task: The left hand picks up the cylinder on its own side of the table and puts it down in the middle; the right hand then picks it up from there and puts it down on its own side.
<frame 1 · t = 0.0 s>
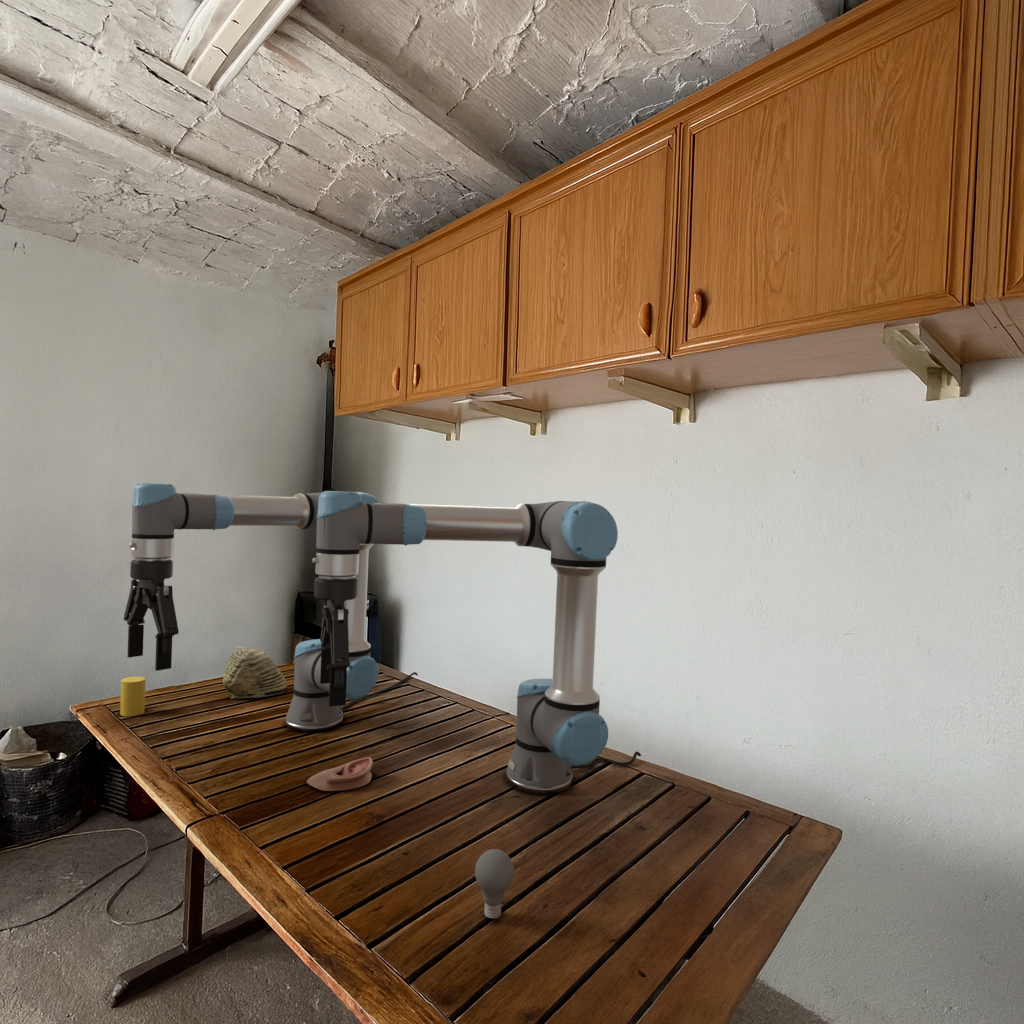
left hand: (148, 662, 129), 28 cm above the table, tool pointing down, fingers open, 13 cm apart
right hand: (332, 693, 115), 28 cm above the table, tool pointing down, fingers open, 13 cm apart
anatomical model: (340, 781, 141), on the table
light bulb: (492, 917, 98), on the table
cylinder: (132, 712, 178), on the table
fossil: (254, 694, 198), on the table
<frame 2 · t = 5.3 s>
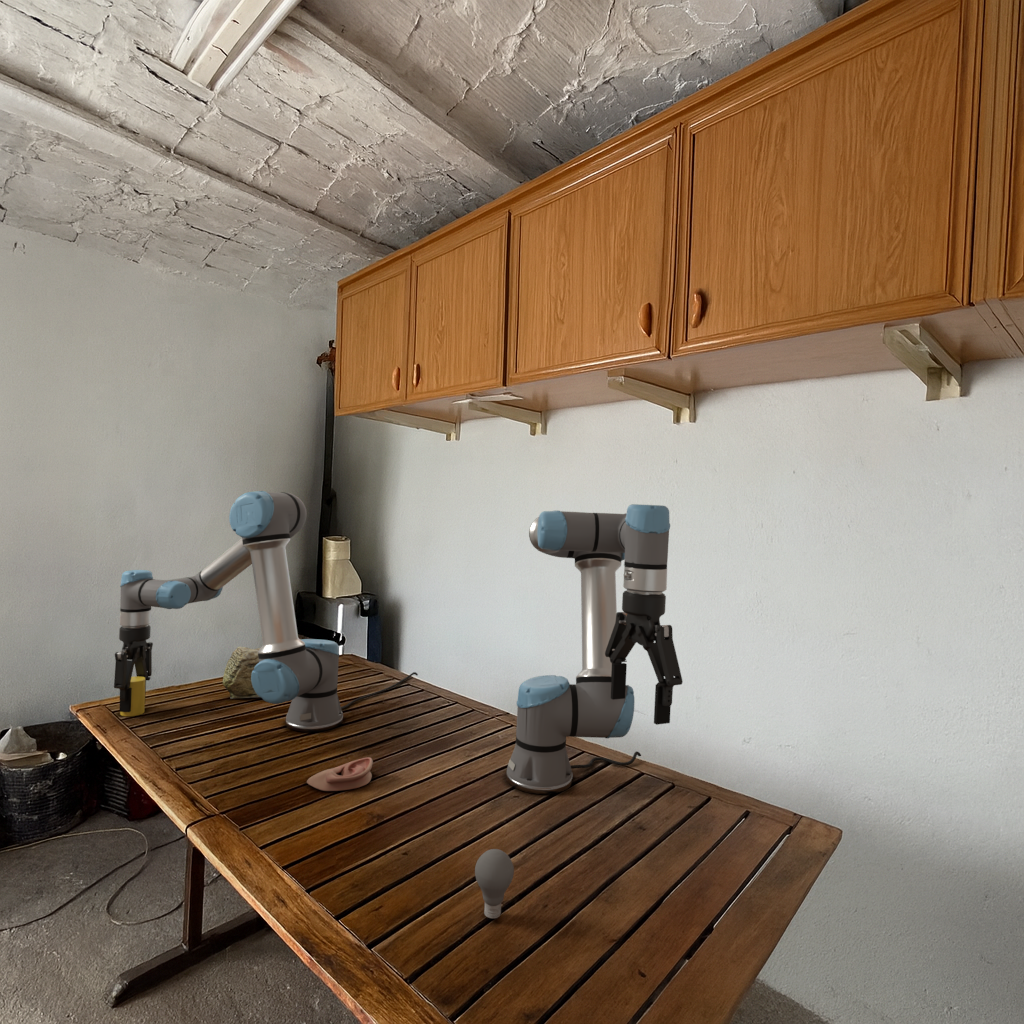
left hand: (132, 707, 178), 2 cm above the table, tool pointing down, fingers closed on cylinder, 6 cm apart
right hand: (638, 710, 113), 28 cm above the table, tool pointing down, fingers open, 13 cm apart
cylinder: (132, 712, 178), on the table, touching left hand
everything else where it was.
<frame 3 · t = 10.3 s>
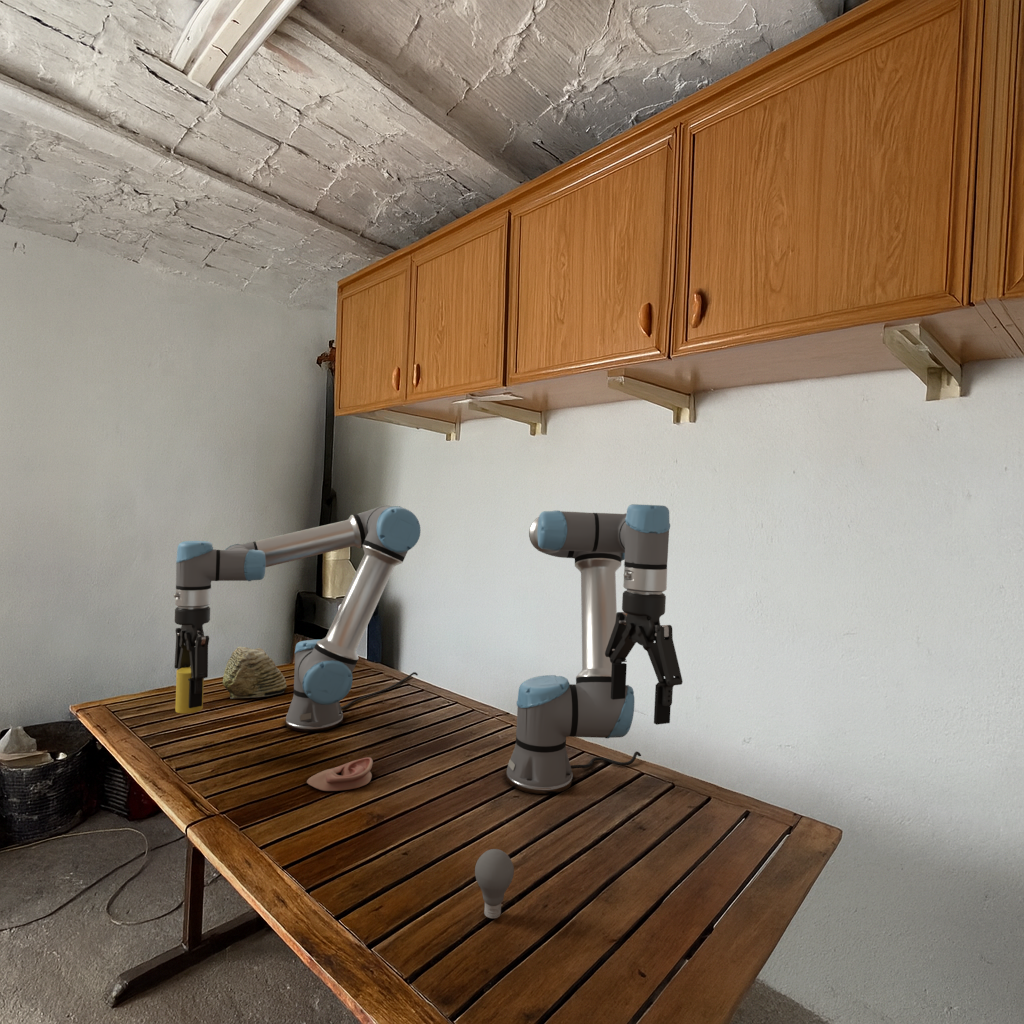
left hand: (189, 703, 151), 13 cm above the table, tool pointing down, fingers closed on cylinder, 6 cm apart
right hand: (638, 710, 113), 28 cm above the table, tool pointing down, fingers open, 13 cm apart
cylinder: (189, 709, 151), point 11 cm above the table, touching left hand
everything else where it was.
when the left hand's fingers open (3 cm above the table, at t = 15.7 s): cylinder drops 2 cm, on the table.
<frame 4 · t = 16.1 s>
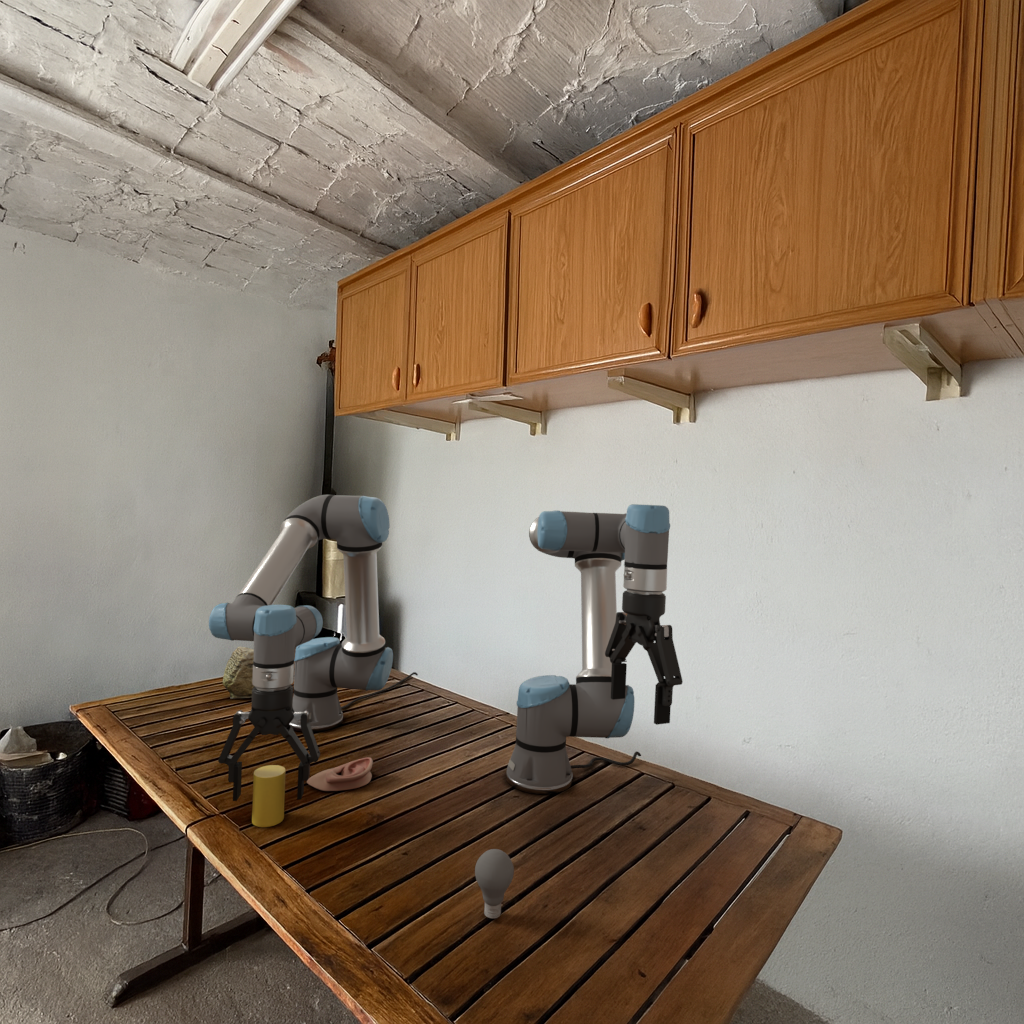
left hand: (268, 797, 124), 4 cm above the table, tool pointing down, fingers open, 11 cm apart
right hand: (638, 710, 113), 28 cm above the table, tool pointing down, fingers open, 13 cm apart
cylinder: (267, 819, 124), on the table
everything else where it was.
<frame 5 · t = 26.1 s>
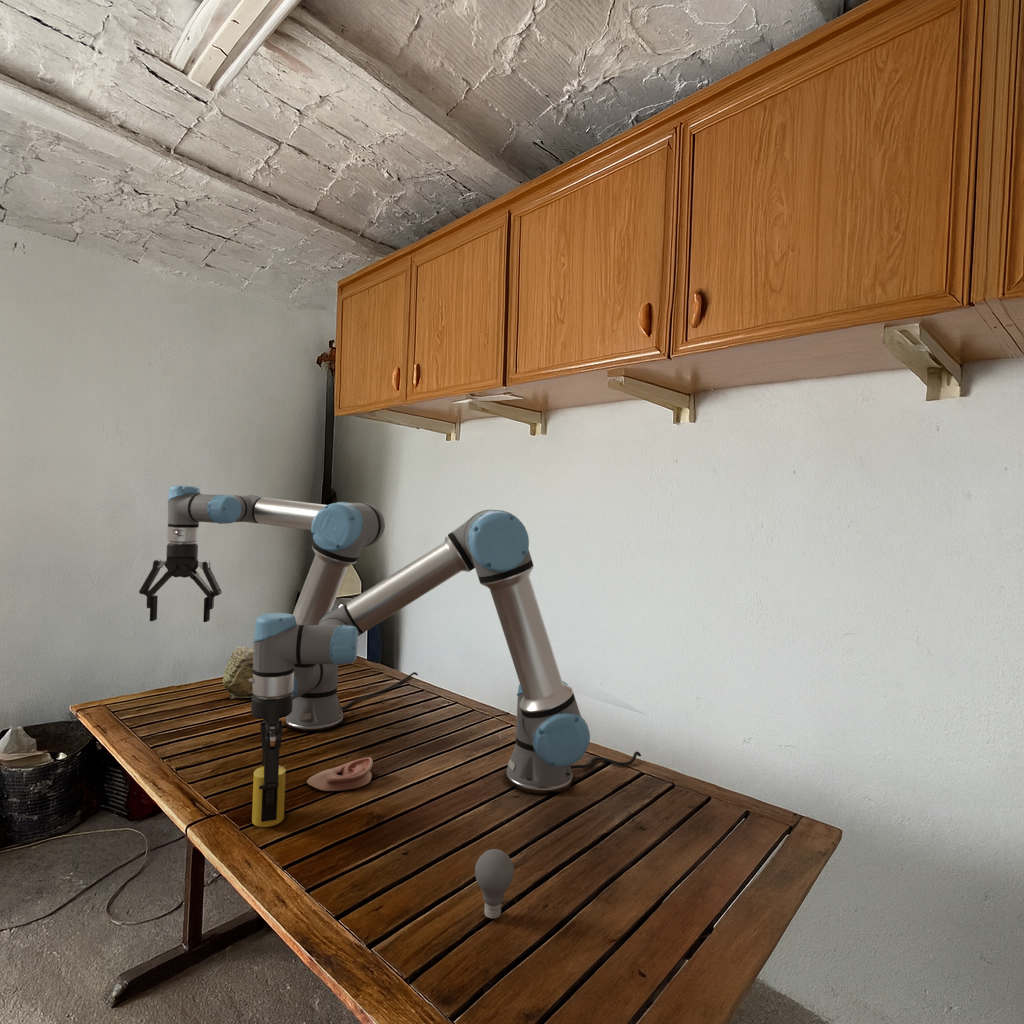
left hand: (180, 620, 172), 28 cm above the table, tool pointing down, fingers open, 13 cm apart
right hand: (268, 811, 124), 2 cm above the table, tool pointing down, fingers closed on cylinder, 6 cm apart
cylinder: (268, 819, 124), on the table, touching right hand
everything else where it was.
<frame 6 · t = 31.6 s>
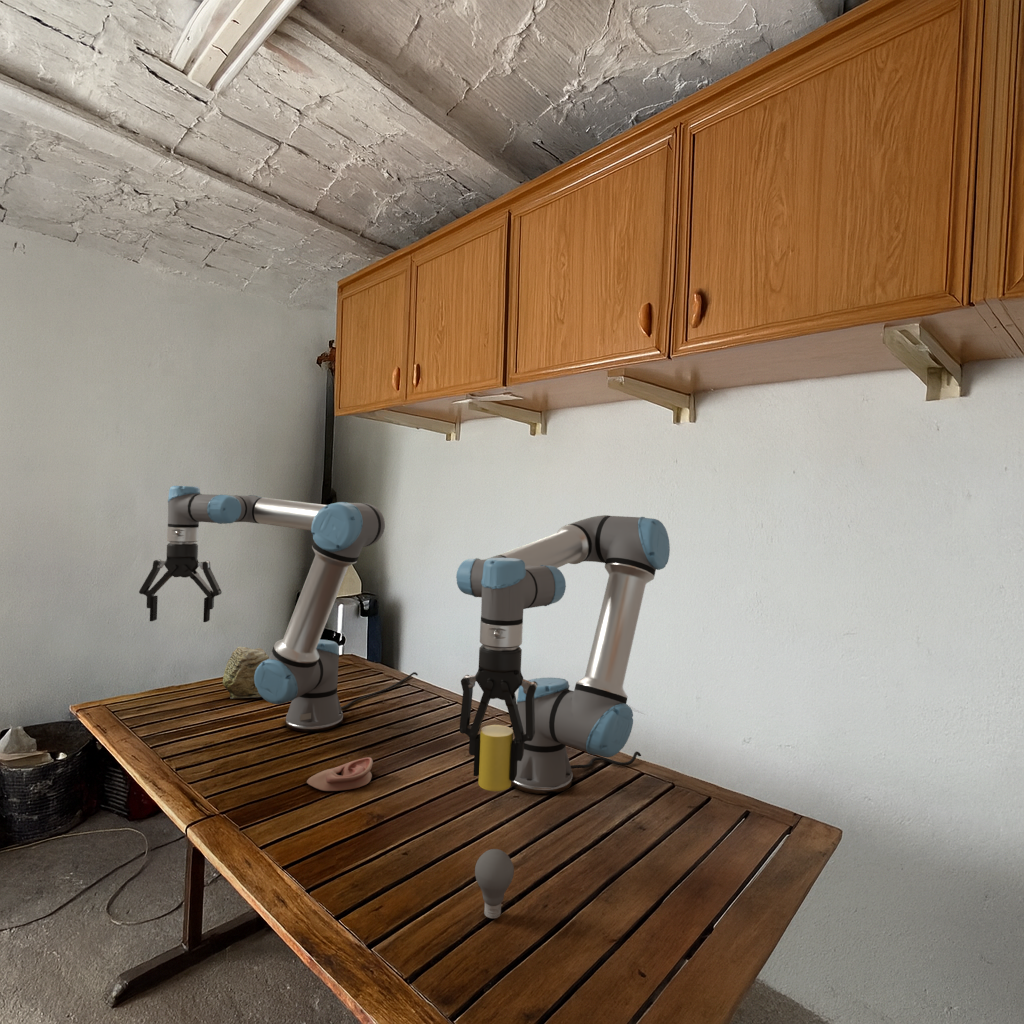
left hand: (180, 620, 172), 28 cm above the table, tool pointing down, fingers open, 13 cm apart
right hand: (495, 775, 112), 15 cm above the table, tool pointing down, fingers closed on cylinder, 6 cm apart
cylinder: (494, 783, 112), point 14 cm above the table, touching right hand
everything else where it was.
when the right hand's fingers open (3 cm above the table, at t = 37.3 s): cylinder drops 2 cm, on the table.
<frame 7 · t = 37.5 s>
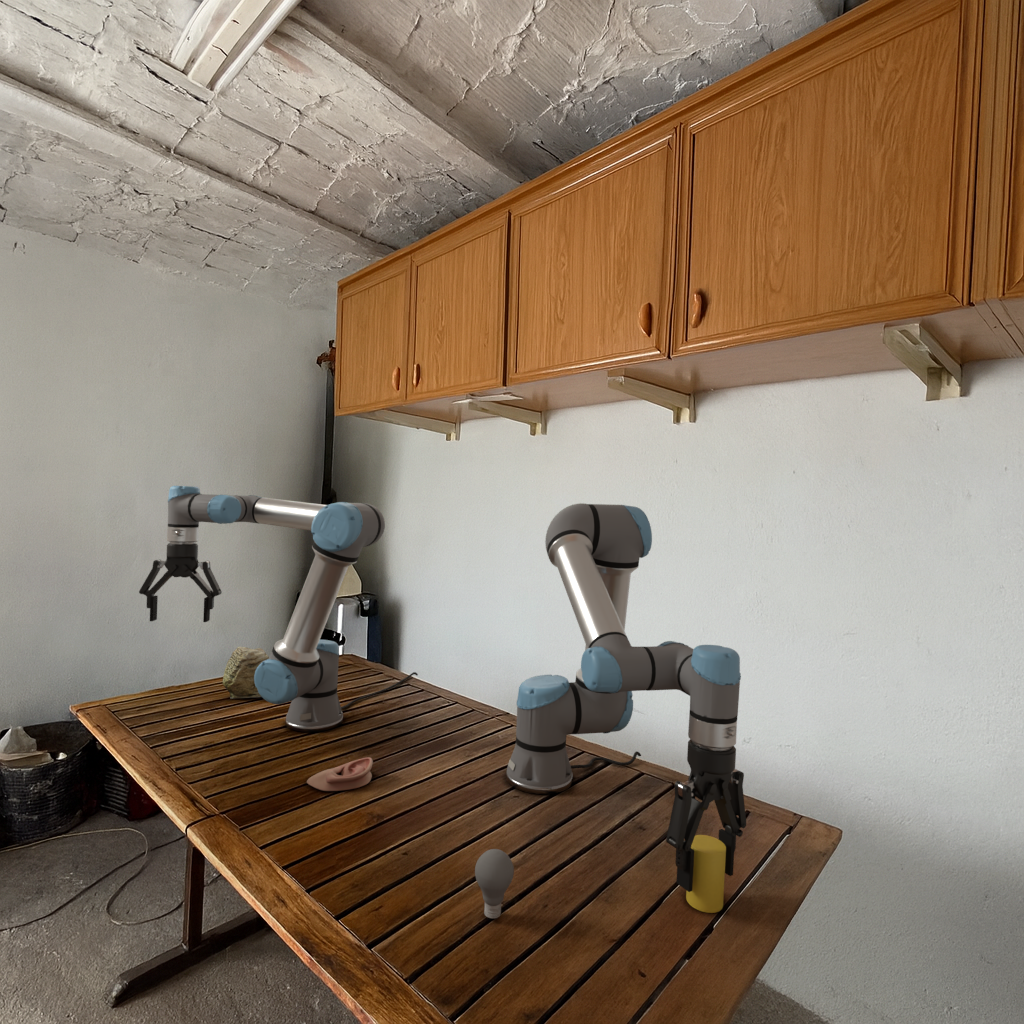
left hand: (180, 620, 172), 28 cm above the table, tool pointing down, fingers open, 13 cm apart
right hand: (705, 878, 104), 4 cm above the table, tool pointing down, fingers open, 9 cm apart
cylinder: (704, 901, 104), on the table
everything else where it was.
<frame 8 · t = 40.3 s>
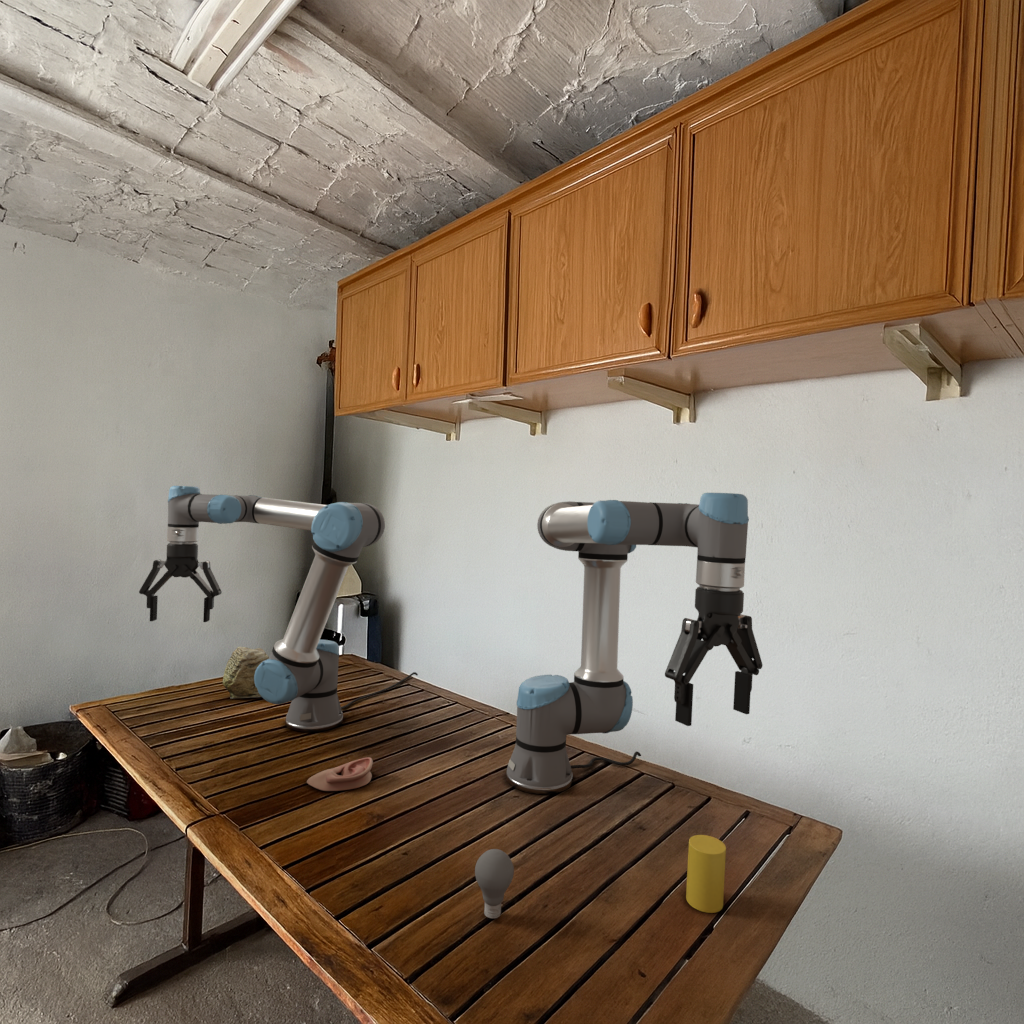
left hand: (180, 620, 172), 28 cm above the table, tool pointing down, fingers open, 13 cm apart
right hand: (713, 717, 103), 30 cm above the table, tool pointing down, fingers open, 13 cm apart
nothing on the table moved.
at the end: cylinder inside the target area (0.1 cm from its centre), on the table; cylinder tilted 0°; the two hands never held the cylinder at the same time; the left hand is holding nothing; the right hand is holding nothing; cylinder at rest at the end (0.0 cm/s) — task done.
